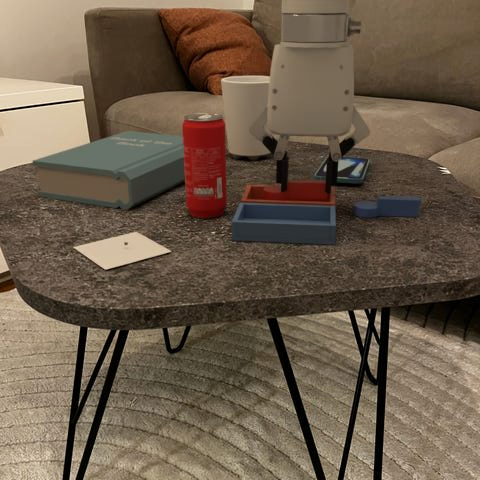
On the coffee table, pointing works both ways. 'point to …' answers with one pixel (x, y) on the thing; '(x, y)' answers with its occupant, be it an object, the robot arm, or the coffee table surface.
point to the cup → (245, 114)
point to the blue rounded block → (388, 207)
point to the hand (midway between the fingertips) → (306, 188)
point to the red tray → (256, 196)
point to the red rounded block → (297, 190)
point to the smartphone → (346, 170)
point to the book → (114, 170)
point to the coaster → (121, 250)
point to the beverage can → (205, 164)
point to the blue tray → (284, 223)
